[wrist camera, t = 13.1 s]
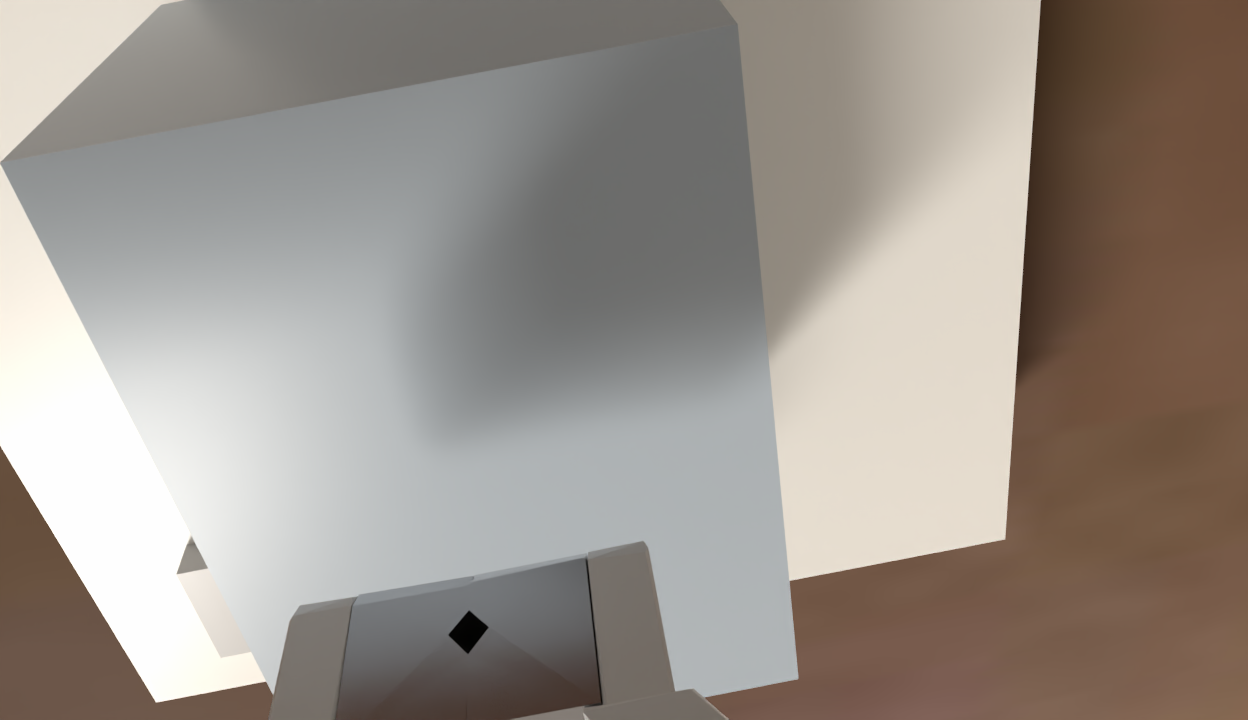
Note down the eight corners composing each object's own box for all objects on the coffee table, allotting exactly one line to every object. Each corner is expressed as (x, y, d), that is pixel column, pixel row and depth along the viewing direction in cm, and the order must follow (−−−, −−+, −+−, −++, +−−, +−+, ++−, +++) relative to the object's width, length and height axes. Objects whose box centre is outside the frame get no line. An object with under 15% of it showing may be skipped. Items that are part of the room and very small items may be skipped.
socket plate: (-294, -317, 13) (-520, -319, 10) (973, -545, 13) (1114, -613, 10) (191, 592, 22) (145, 734, 19) (949, 448, 22) (1021, 565, 19)
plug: (214, -49, 15) (-1, 161, 8) (625, -125, 15) (737, 23, 8) (414, 519, 21) (382, 906, 14) (707, 462, 21) (811, 822, 14)
